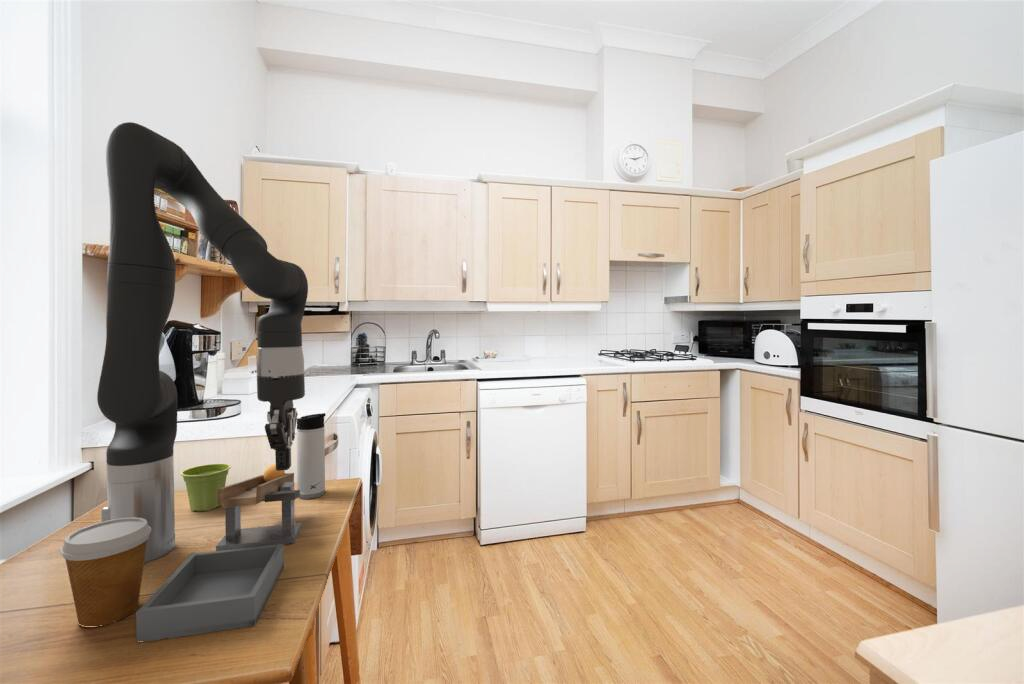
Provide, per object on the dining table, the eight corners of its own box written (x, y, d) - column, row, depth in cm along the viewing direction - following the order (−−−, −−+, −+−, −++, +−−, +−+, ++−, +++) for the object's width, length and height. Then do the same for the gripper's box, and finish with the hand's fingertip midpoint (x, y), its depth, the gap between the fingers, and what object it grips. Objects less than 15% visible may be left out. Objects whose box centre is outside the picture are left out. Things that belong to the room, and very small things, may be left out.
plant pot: (179, 505, 102) (179, 468, 102) (227, 496, 108) (227, 460, 108) (182, 518, 95) (182, 478, 95) (234, 507, 101) (233, 469, 101)
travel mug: (319, 499, 106) (318, 416, 106) (292, 499, 106) (291, 416, 106) (330, 490, 112) (330, 411, 112) (304, 490, 112) (304, 411, 112)
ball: (260, 484, 92) (262, 464, 93) (265, 485, 95) (267, 466, 97) (281, 482, 93) (283, 462, 94) (285, 483, 96) (287, 464, 98)
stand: (215, 551, 81) (215, 496, 80) (230, 534, 87) (229, 483, 87) (293, 543, 84) (293, 489, 84) (301, 527, 91) (301, 478, 90)
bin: (136, 643, 57) (136, 612, 57) (191, 578, 72) (191, 553, 72) (254, 625, 60) (254, 596, 60) (283, 567, 75) (283, 543, 75)
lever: (215, 520, 73) (217, 489, 74) (259, 499, 96) (260, 475, 97) (291, 513, 76) (292, 483, 76) (316, 494, 98) (317, 471, 99)
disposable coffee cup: (150, 586, 70) (148, 510, 69) (155, 615, 63) (153, 530, 62) (64, 612, 63) (62, 529, 63) (58, 647, 56) (56, 553, 56)
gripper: (268, 370, 84) (270, 460, 85) (245, 377, 72) (248, 483, 72) (310, 368, 86) (313, 457, 87) (295, 375, 73) (298, 479, 74)
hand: (283, 469), depth 79 cm, fingers closed
